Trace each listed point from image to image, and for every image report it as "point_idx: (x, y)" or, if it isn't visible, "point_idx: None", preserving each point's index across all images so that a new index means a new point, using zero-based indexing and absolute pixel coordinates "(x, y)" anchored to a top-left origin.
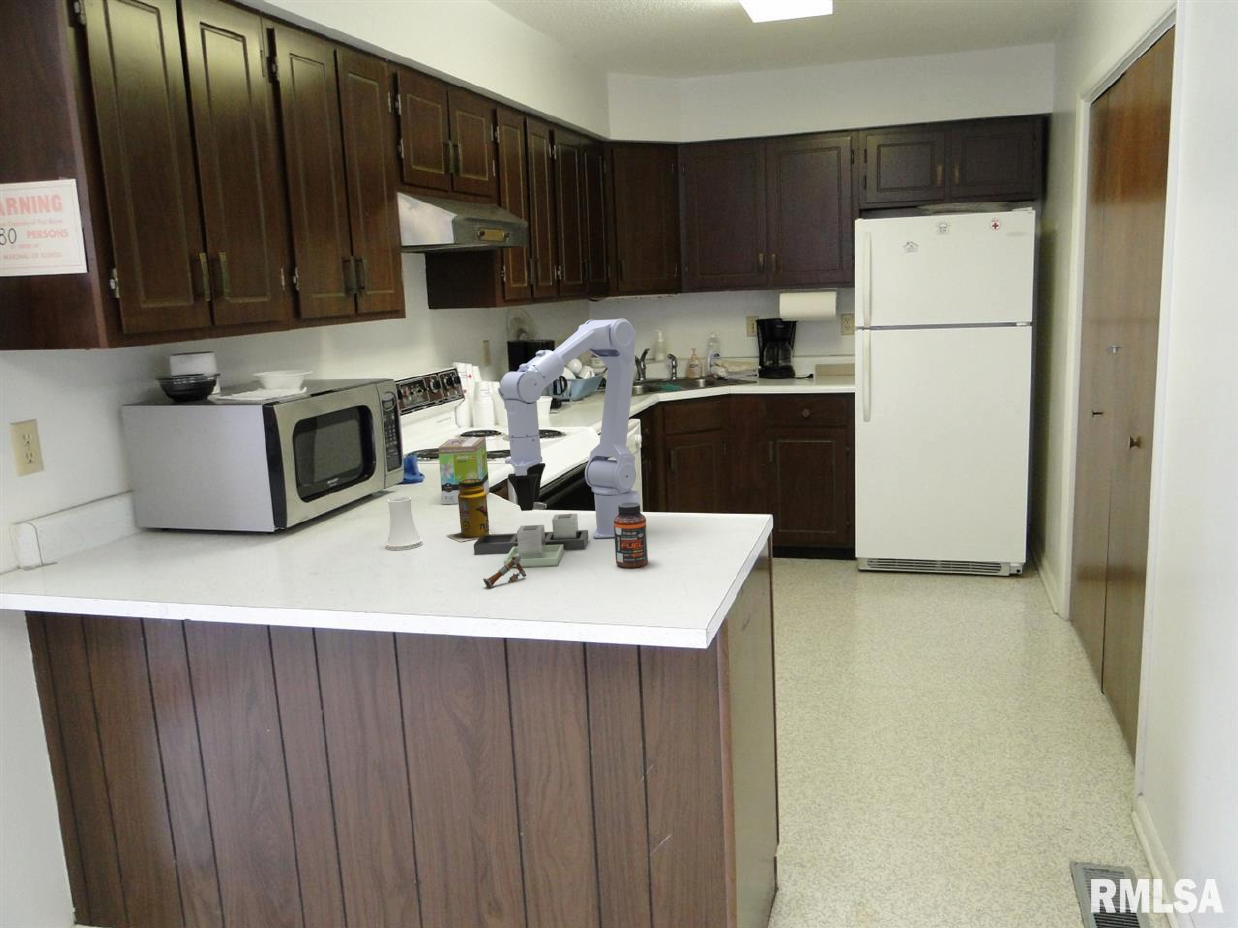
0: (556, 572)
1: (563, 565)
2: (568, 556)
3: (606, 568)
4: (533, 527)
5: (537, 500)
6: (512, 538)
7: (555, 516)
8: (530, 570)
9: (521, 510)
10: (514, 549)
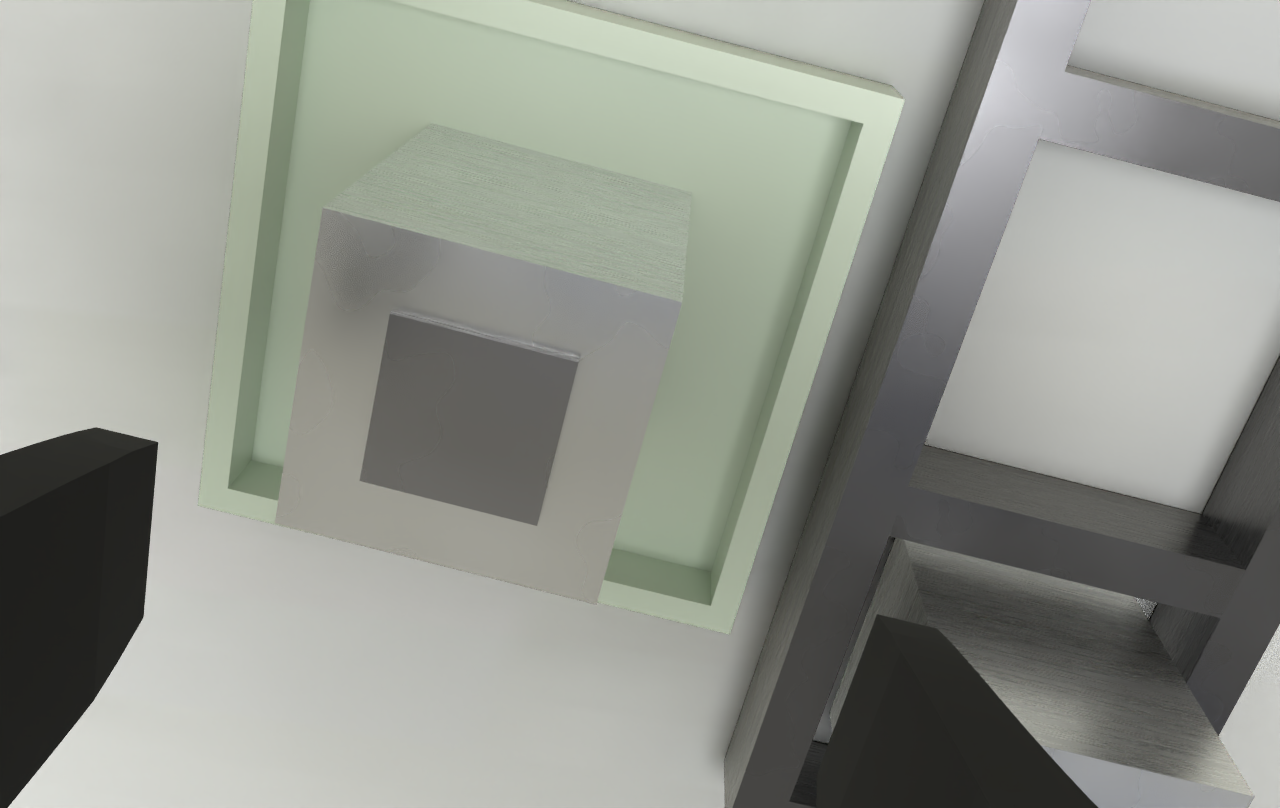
0: (18, 432)
1: (242, 520)
2: (546, 603)
3: (57, 801)
4: (430, 458)
5: (822, 785)
6: (1234, 128)
7: (1128, 785)
8: (144, 207)
9: (94, 429)
10: (821, 110)
